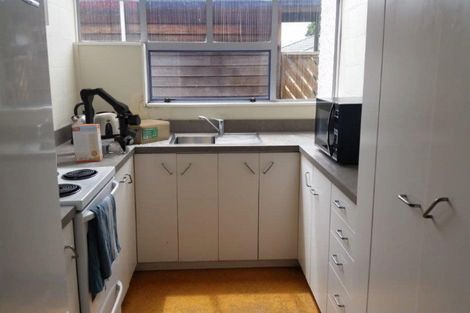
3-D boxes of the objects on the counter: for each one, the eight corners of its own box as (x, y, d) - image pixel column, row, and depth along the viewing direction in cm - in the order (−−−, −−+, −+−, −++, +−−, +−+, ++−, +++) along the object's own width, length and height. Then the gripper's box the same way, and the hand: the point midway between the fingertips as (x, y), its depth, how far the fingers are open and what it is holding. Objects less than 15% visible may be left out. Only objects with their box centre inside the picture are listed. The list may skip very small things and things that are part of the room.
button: (116, 149, 270) (115, 143, 270) (118, 148, 273) (117, 142, 273) (120, 149, 270) (119, 143, 269) (122, 148, 273) (121, 142, 272)
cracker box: (103, 159, 242) (99, 123, 237) (100, 161, 236) (96, 124, 231) (78, 160, 241) (75, 124, 237) (75, 162, 235) (71, 125, 231)
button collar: (111, 150, 269) (111, 145, 268) (116, 148, 276) (116, 143, 275) (122, 150, 268) (121, 145, 267) (126, 148, 274) (126, 143, 274)
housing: (95, 154, 256) (95, 145, 255) (102, 151, 264) (101, 143, 263) (105, 154, 255) (104, 145, 254) (110, 151, 263) (110, 143, 262)
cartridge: (108, 153, 257) (108, 146, 256) (111, 151, 261) (111, 144, 260) (127, 153, 255) (126, 146, 254) (129, 151, 259) (129, 144, 258)
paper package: (141, 145, 285) (140, 124, 282) (120, 141, 302) (118, 122, 299) (172, 139, 305) (171, 120, 302) (150, 136, 322) (149, 118, 319)
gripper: (130, 127, 244) (132, 153, 247) (142, 123, 262) (144, 147, 265) (112, 127, 245) (114, 153, 249) (125, 123, 263) (127, 147, 267)
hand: (126, 150), depth 257 cm, fingers closed on cartridge, 4 cm apart
